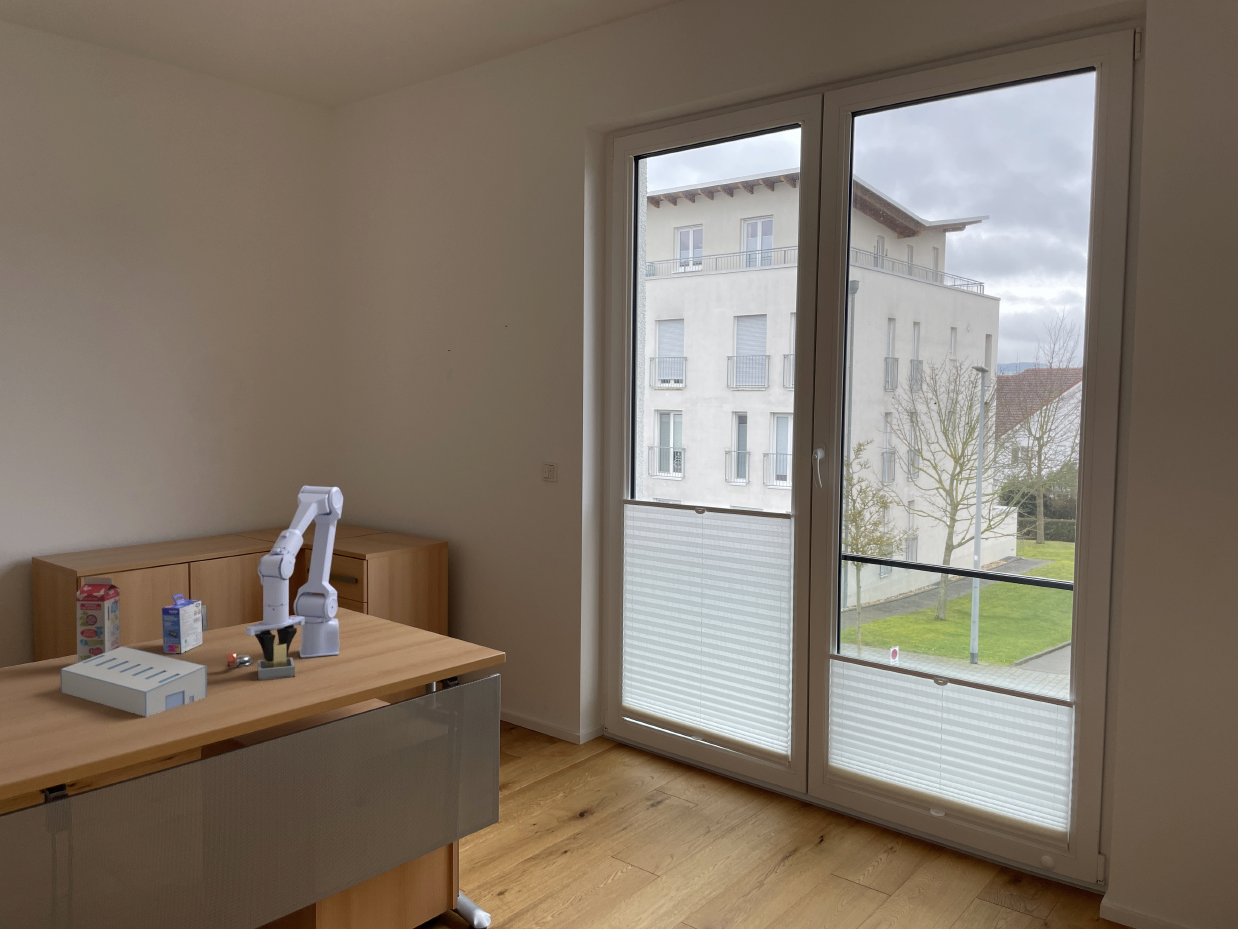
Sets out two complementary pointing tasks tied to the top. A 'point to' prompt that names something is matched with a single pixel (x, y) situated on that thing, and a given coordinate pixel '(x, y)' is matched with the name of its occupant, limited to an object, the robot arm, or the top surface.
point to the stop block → (278, 656)
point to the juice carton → (97, 618)
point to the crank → (235, 659)
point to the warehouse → (135, 681)
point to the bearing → (245, 663)
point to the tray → (276, 670)
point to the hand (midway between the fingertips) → (276, 659)
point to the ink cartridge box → (182, 625)
